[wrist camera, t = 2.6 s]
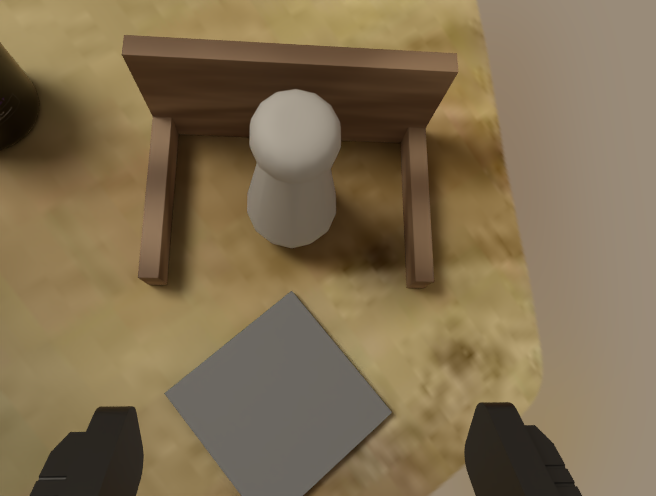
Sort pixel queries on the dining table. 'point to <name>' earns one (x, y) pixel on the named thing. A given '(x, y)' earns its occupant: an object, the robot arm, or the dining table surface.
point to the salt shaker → (293, 167)
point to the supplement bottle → (15, 101)
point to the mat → (278, 403)
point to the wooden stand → (263, 81)
